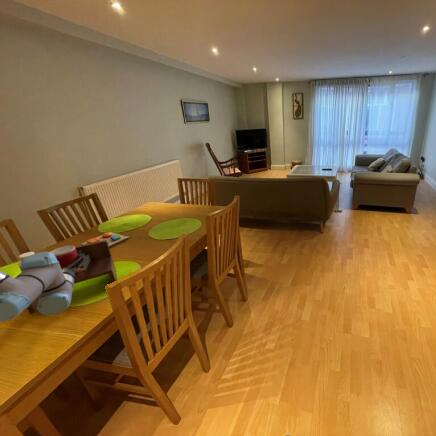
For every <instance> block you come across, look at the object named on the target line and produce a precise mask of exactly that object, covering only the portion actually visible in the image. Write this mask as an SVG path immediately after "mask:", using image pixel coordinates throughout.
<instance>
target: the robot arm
mask: <svg viewBox="0 0 436 436" xmlns="http://www.w3.org/2000/svg"><path fill="white" fill-rule="evenodd" d="M90 261H91V260H90V257H89V255H87V256H85V254H83V253H82V251H81V250H79V252H78V259H77V260H76V261H75V262H73V263H72V264H69V265H68V266H67V267H65V268H63V269H61V267H60V264H59V262H58V261H57V259H56V257H55V255H54V254H53V253H51V251H42V252H37V253H35V254H33V255H30V256H28V257H26V258H24V259H23V260H22V261H21V266H22V269H23V270H24V271H23V272H20V273H18V274H17V275H16V276H15V277H13V276H11V275H10V274H8V273H6V272H4V271H2V270H0V323H5V322H8V321H11V320H14V319H15V318H17V317H18V316H20V314H22V313H24V311H25V310H27V308H28V307H29V305H30V304H31V303H32V302H33V301H34V300H35V299H36V298H37V297H38V299H39V301H38V304H37V305H38V306H37V309H36V310H37V311H38V313H40V314H41V315H44V316H55V315H60V314H61V313H63V312H65V311H67V310H68V308H69V306H70V304H71V302H72V299H73V297H72V296H73V292H74V285H75V284H74V282H75V276H76V274H77V273H78V272H79V271H83V272H85V271H87V270H86V268H87V266H88V264H89V262H90ZM77 268H78V269H77Z"/></svg>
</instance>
